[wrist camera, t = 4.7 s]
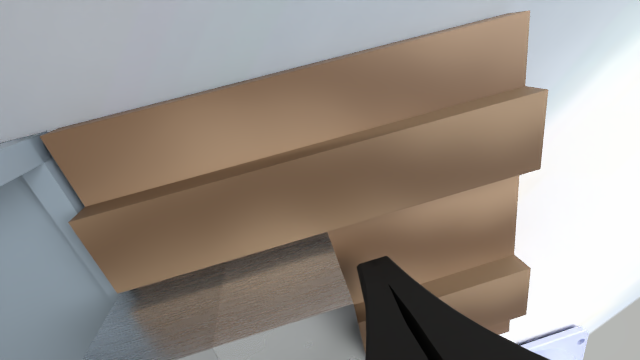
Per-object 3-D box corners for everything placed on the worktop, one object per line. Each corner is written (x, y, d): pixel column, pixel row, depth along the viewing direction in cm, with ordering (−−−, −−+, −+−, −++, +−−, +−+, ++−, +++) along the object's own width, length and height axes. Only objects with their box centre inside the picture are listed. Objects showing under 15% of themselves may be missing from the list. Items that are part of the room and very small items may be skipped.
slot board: (496, 316, 18) (522, 347, 16) (228, 404, 17) (224, 447, 15) (508, 13, 11) (556, 6, 9) (59, 128, 10) (14, 146, 8)
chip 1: (258, 326, 14) (256, 427, 10) (168, 353, 13) (134, 467, 10) (227, 256, 12) (212, 348, 8) (123, 286, 12) (61, 394, 8)
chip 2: (344, 299, 14) (373, 387, 10) (257, 326, 14) (257, 427, 10) (325, 227, 12) (353, 303, 9) (226, 256, 12) (212, 347, 8)
